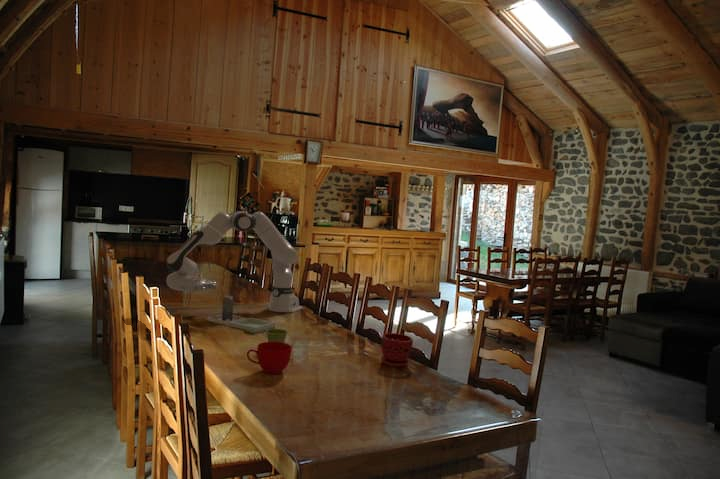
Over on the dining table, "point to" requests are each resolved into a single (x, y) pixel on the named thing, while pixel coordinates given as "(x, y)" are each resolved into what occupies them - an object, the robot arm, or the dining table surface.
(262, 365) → the ceramic cup
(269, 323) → the bin
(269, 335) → the plant pot
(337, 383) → the dining table surface
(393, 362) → the plant pot
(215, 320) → the tray
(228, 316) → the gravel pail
